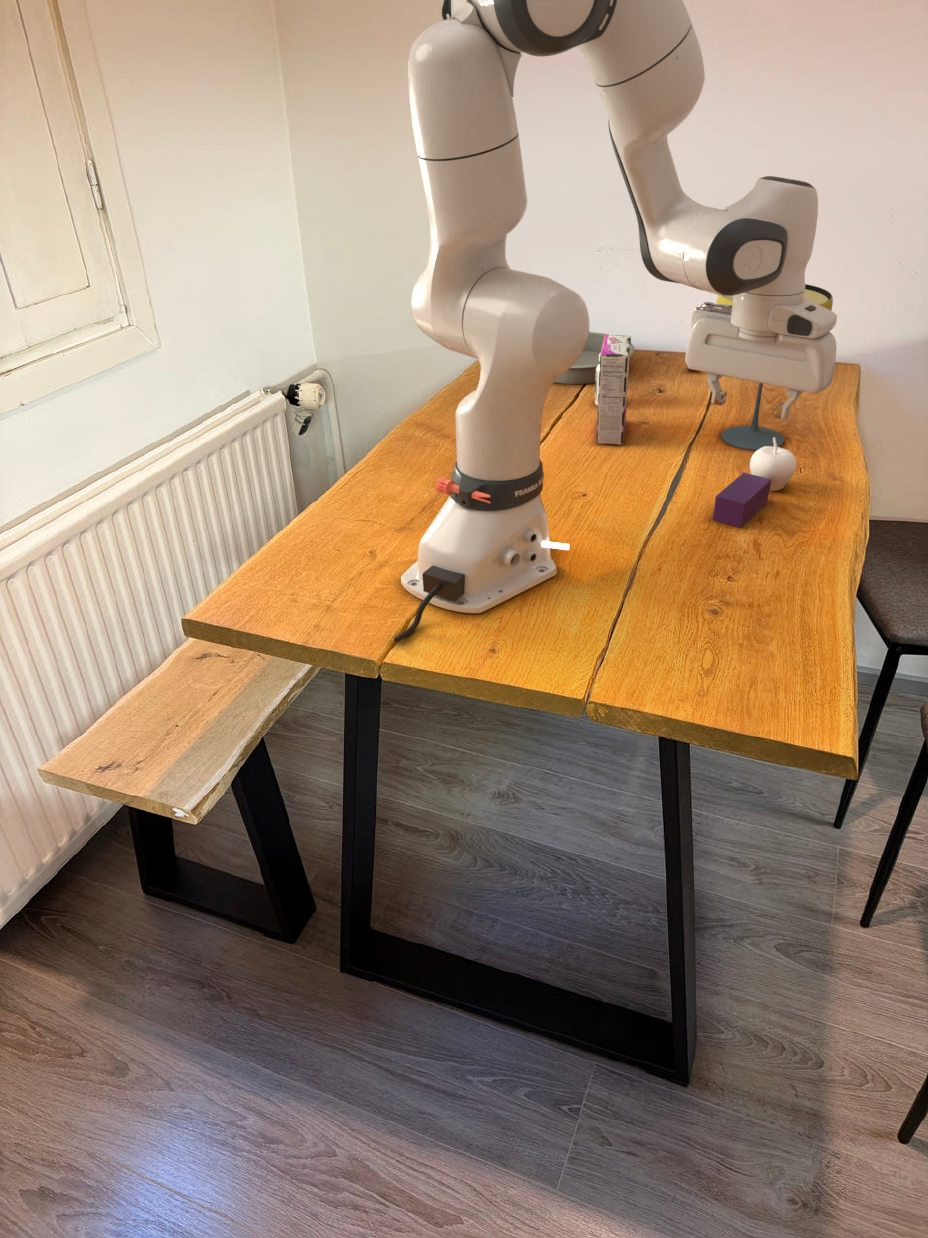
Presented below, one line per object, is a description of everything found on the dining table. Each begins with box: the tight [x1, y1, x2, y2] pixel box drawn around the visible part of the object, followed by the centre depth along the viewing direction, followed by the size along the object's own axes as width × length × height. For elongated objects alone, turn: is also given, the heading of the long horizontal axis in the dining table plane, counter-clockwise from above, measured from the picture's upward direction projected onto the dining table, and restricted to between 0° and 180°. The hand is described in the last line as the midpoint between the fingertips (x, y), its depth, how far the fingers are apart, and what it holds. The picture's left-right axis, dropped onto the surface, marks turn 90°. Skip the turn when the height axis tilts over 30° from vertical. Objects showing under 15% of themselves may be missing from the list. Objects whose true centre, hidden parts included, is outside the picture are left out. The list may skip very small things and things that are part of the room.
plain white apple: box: [749, 438, 797, 492], centre depth 140 cm, size 7×7×8 cm
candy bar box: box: [595, 334, 632, 446], centre depth 158 cm, size 11×5×16 cm, turn 168°
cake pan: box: [553, 331, 636, 385], centre depth 192 cm, size 25×25×4 cm
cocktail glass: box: [716, 283, 834, 451], centre depth 151 cm, size 18×18×25 cm
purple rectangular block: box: [712, 472, 771, 528], centre depth 134 cm, size 10×4×4 cm, turn 142°
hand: (748, 410), depth 126 cm, fingers open, 8 cm apart
